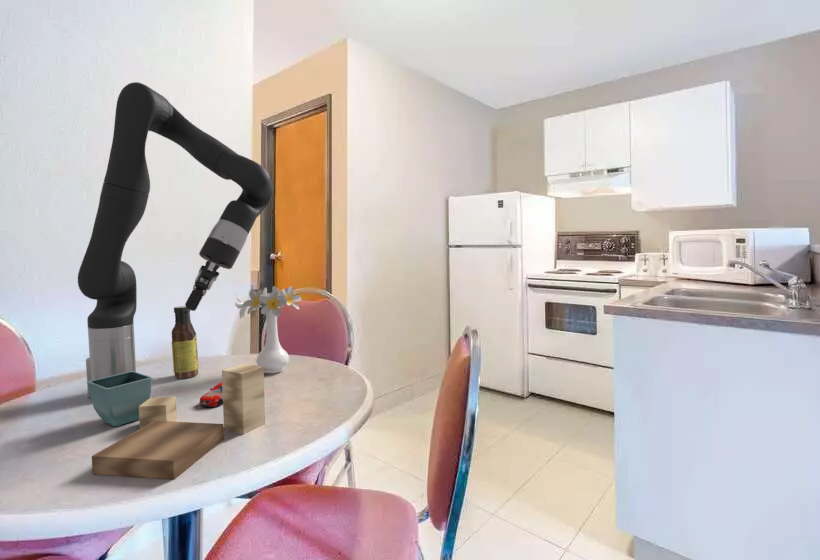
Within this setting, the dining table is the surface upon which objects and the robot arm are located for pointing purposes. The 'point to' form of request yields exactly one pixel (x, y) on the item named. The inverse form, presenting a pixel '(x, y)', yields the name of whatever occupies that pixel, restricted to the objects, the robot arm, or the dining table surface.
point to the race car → (213, 397)
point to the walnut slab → (158, 450)
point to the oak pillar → (243, 398)
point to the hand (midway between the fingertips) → (189, 308)
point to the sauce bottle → (184, 345)
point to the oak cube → (157, 410)
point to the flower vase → (270, 324)
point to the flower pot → (120, 396)
